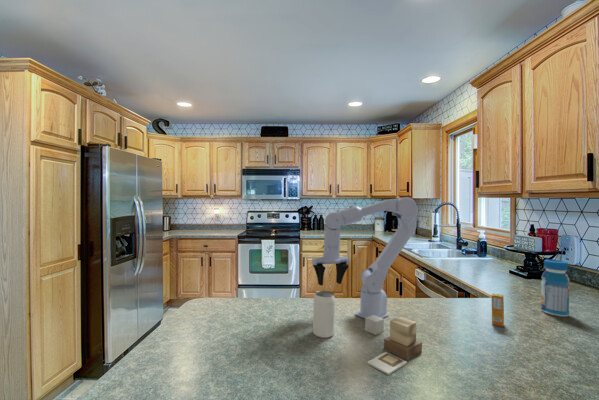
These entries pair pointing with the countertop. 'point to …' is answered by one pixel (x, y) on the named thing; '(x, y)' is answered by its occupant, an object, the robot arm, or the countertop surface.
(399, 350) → the walnut block
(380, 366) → the card
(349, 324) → the countertop surface
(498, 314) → the supplement box
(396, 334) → the maple cube
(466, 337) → the countertop surface
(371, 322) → the grey cube
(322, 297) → the can
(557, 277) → the supplement bottle
